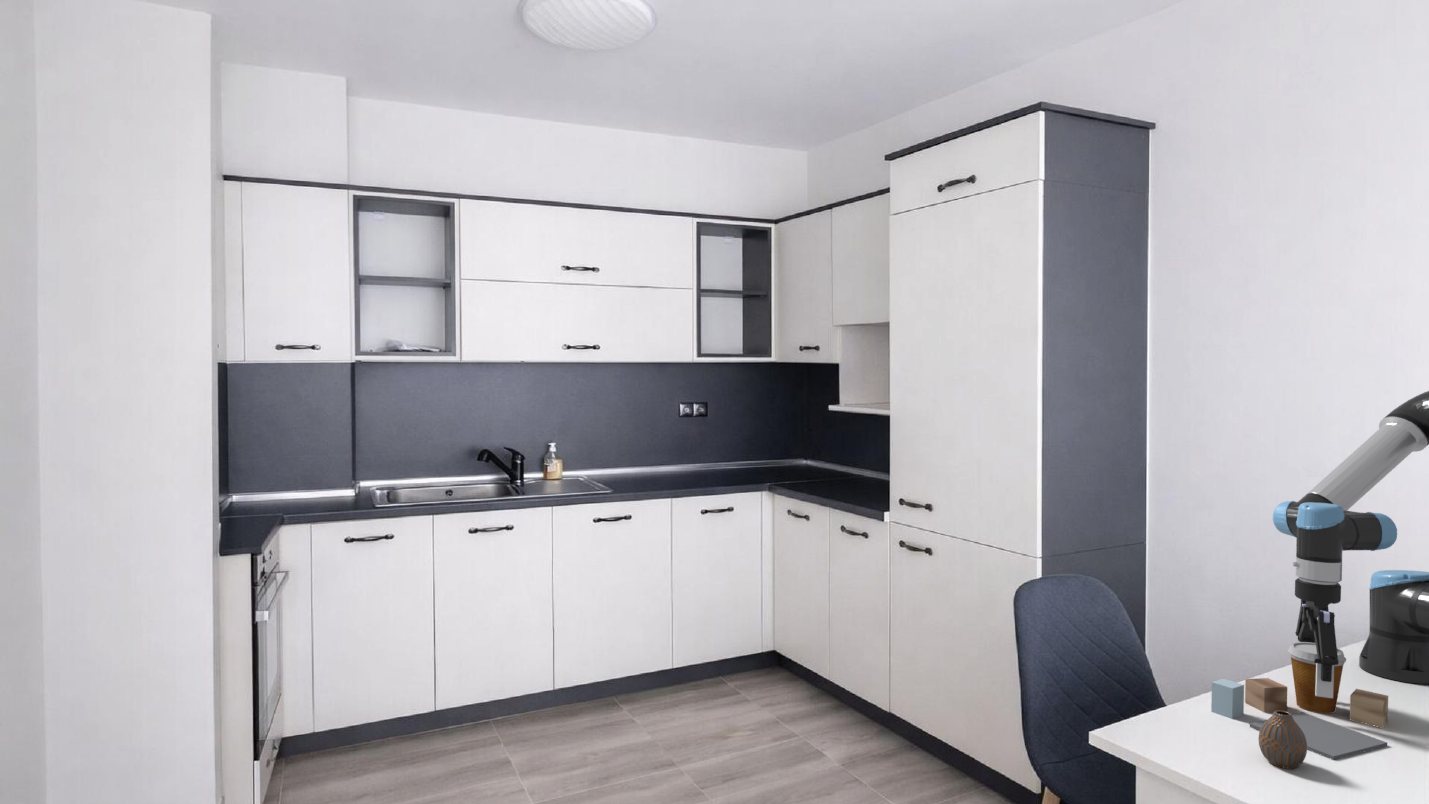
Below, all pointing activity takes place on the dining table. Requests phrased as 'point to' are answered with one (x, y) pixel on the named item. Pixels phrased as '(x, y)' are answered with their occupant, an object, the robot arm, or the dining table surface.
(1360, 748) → the mat
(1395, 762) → the dining table surface
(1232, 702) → the block
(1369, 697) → the block
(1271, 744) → the vase
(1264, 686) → the block
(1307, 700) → the disposable coffee cup
